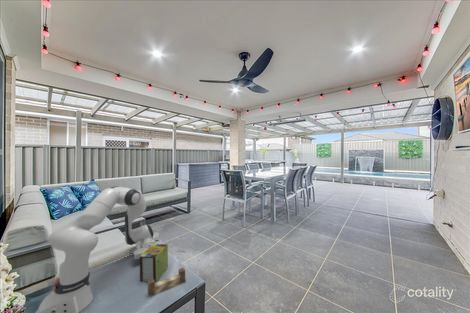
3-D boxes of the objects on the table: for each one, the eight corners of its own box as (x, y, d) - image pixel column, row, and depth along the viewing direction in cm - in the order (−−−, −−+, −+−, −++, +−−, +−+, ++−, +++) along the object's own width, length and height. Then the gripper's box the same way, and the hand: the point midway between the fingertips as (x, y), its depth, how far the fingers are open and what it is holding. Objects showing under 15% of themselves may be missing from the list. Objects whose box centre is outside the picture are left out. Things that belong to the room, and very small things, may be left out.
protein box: (168, 266, 122) (167, 243, 122) (156, 282, 107) (155, 257, 106) (153, 265, 123) (153, 242, 123) (139, 281, 108) (139, 256, 107)
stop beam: (148, 296, 97) (148, 284, 96) (147, 291, 100) (147, 279, 100) (185, 281, 108) (185, 270, 108) (183, 277, 111) (182, 266, 111)
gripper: (132, 246, 128) (134, 256, 116) (162, 239, 139) (167, 247, 128) (132, 255, 128) (134, 265, 117) (162, 247, 139) (167, 255, 128)
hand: (151, 256), depth 122 cm, fingers closed
